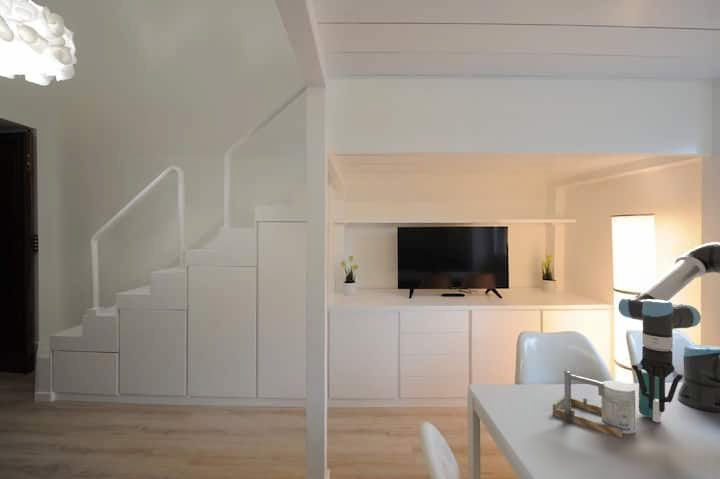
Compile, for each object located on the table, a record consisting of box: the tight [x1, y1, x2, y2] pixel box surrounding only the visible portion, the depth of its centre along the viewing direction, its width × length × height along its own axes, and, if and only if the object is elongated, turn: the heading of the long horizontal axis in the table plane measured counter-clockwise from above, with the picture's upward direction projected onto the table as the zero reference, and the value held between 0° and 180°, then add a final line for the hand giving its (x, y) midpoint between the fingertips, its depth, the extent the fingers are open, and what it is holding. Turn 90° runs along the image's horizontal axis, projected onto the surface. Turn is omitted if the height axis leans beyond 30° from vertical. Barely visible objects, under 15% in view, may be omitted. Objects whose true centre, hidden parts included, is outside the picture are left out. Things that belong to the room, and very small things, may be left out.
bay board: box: [552, 395, 623, 439], centre depth 128 cm, size 21×15×4 cm
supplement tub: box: [601, 380, 636, 435], centre depth 122 cm, size 10×10×15 cm
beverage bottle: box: [637, 367, 663, 419], centre depth 129 cm, size 6×7×20 cm
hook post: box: [563, 370, 605, 424], centre depth 122 cm, size 12×2×18 cm, turn 42°
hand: (656, 420), depth 114 cm, fingers closed
